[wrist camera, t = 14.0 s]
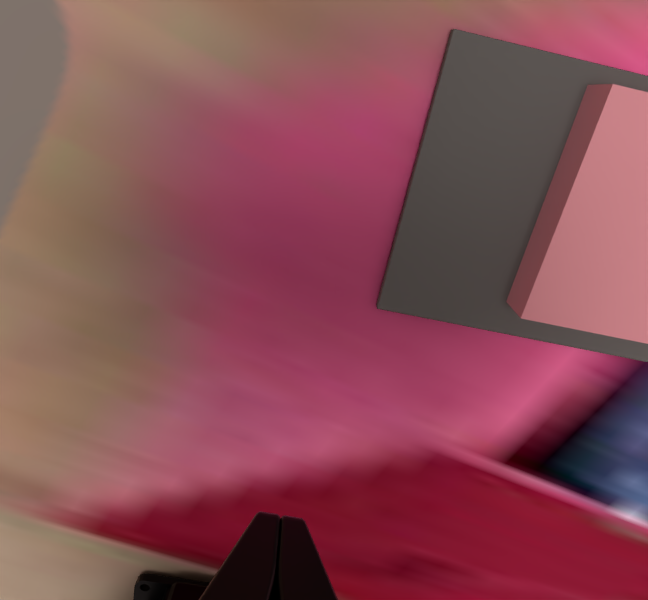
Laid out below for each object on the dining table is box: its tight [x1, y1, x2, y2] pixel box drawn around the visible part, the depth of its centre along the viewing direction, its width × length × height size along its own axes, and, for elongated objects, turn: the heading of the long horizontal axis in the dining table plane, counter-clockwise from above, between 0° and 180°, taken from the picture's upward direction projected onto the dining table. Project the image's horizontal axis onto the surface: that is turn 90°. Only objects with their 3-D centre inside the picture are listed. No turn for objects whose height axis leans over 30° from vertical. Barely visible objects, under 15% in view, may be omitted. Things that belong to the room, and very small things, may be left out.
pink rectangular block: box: [506, 84, 648, 344], centre depth 18 cm, size 8×2×7 cm
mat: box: [376, 29, 648, 362], centre depth 19 cm, size 10×12×1 cm
